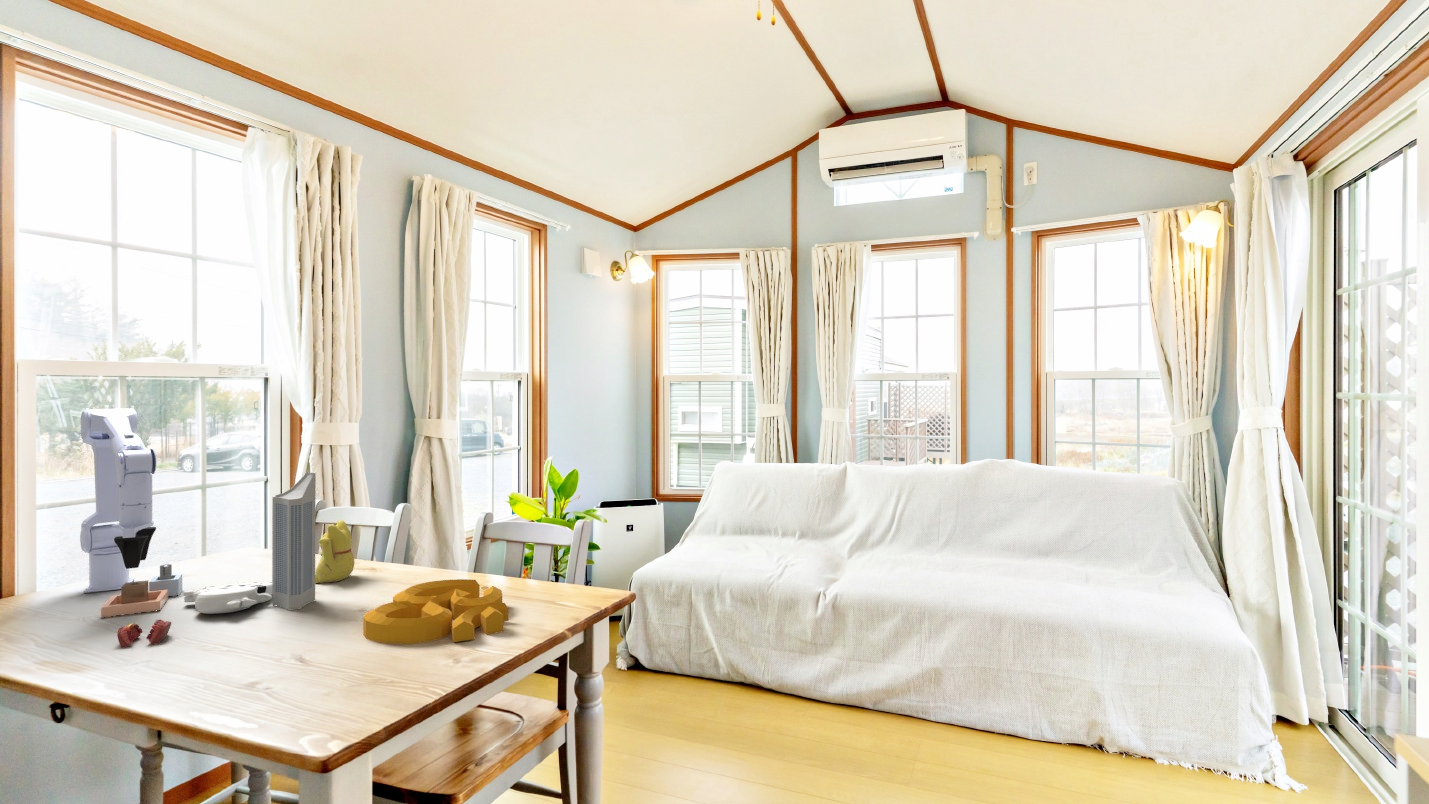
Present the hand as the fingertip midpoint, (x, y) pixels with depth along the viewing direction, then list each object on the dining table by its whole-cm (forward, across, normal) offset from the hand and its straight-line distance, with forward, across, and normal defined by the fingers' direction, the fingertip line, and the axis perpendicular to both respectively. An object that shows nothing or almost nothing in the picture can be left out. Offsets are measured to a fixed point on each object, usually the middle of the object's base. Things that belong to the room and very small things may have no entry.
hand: (136, 563), depth 155 cm
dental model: (+10, +26, +6) cm, 29 cm away
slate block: (+10, -10, +4) cm, 14 cm away
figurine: (+10, -5, +39) cm, 41 cm away
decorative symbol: (+10, +41, +59) cm, 73 cm away
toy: (+10, +7, +18) cm, 22 cm away
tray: (+10, 0, 0) cm, 10 cm away
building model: (+10, +13, +30) cm, 34 cm away
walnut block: (+9, 0, 0) cm, 9 cm away
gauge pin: (+10, -9, +4) cm, 14 cm away
